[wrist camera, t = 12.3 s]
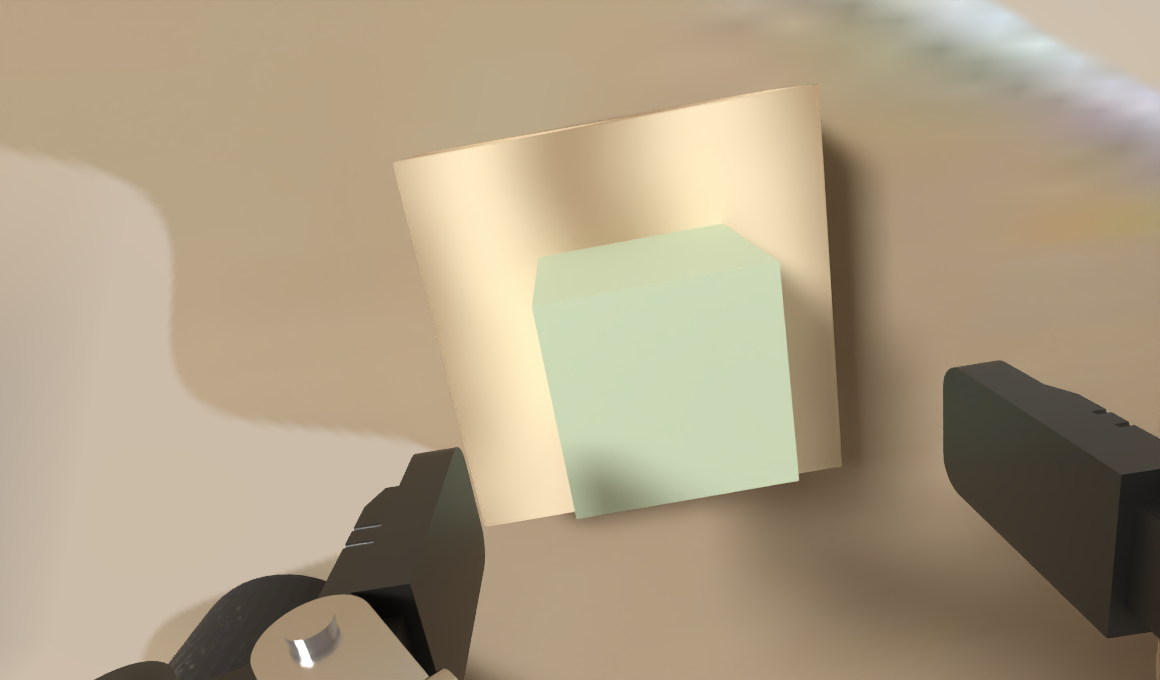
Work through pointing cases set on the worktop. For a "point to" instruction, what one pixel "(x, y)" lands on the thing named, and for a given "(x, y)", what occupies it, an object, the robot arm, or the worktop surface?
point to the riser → (599, 217)
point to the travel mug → (240, 624)
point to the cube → (666, 368)
